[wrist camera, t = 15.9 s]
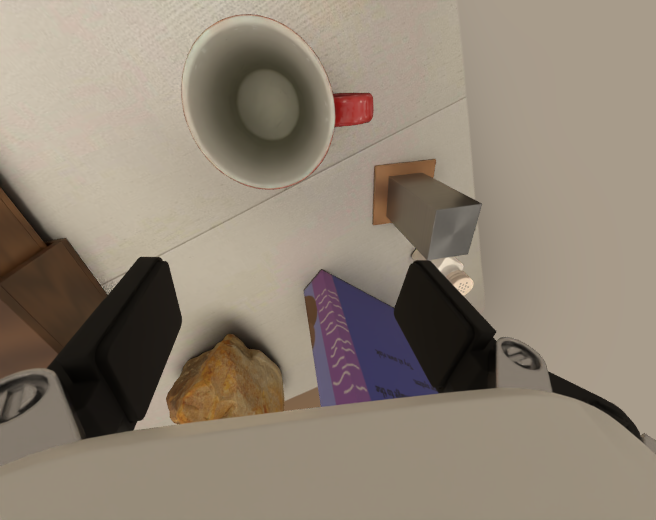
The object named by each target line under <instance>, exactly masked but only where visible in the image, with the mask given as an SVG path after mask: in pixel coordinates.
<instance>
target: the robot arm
mask: <svg viewBox="0 0 656 520" xmlns="http://www.w3.org/2000/svg"><path fill="white" fill-rule="evenodd" d="M394 317H395V319H396V321H397V323H398V325H399V326H400V328H401V330H402V332H403V334H404V336H405V338H406V340H407V341H408V343H409V345H410V347H411V349H412V351H413V353H414V354H415V356H416V358H417V360H418V362H419V364H420V366H421V367H422V369H423V371H424V373H425V375H426V377H427V379H428V380H429V382H430V384H431V386H432V387H434V388H436V390H437V392H438V393H439V394H431V395H422V396H413V397H404V398H395V399H386V400H377V401H368V402H360V403H351V404H342V405H334V406H325V407H317V408H309V409H300V410H291V411H283V412H274V413H266V414H258V415H250V416H242V417H233V418H225V419H217V420H209V421H200V422H192V423H185V424H178V425H171V426H163V427H156V428H149V429H142V430H134V428H135V425H136V423H137V421H141V420H142V419H143V418H144V417H145V415H146V412H147V410H148V407H149V405H150V402H151V400H152V397H153V395H154V392H155V390H156V387H157V385H158V382H159V380H160V377H161V375H162V372H163V370H164V367H165V365H166V362H167V360H168V357H169V355H170V352H171V350H172V347H173V345H174V342H175V340H176V337H177V335H178V332H179V330H180V327H181V324H182V316H181V312H180V308H179V304H178V300H177V296H176V292H175V288H174V284H173V280H172V276H171V272H170V268H169V265H168V263H167V262H166V261H163V260H162V259H161V258H160V257H140V258H138V259H137V261H136V262H135V263H134V264H133V266H132V267H131V268H130V269H129V270H128V272H127V273H126V274H125V275H124V277H123V278H122V279H121V280H120V281H119V283H118V284H117V285H116V286H115V287H114V289H113V290H112V291H111V292H110V294H109V295H108V296H107V297H106V298H105V299H104V300H103V301H102V302H101V303H100V304H99V306H98V307H97V308H96V309H95V310H94V312H93V313H92V314H91V315H90V316H89V318H88V319H87V320H86V321H85V322H84V324H83V325H82V326H81V327H80V329H79V330H78V331H77V332H76V333H75V335H74V336H73V337H72V338H71V339H70V341H69V342H68V343H67V344H66V345H65V347H64V348H63V349H62V350H61V351H60V353H59V354H58V355H57V356H56V357H55V359H54V360H53V361H52V362H51V364H50V365H49V366H48V367H47V368H33V369H28V370H23V371H20V372H17V373H14V374H11V375H9V376H6V377H4V378H2V379H0V520H656V440H654V439H653V438H651V437H650V436H648V435H647V434H645V433H644V434H642V435H640V433H639V431H638V429H637V427H636V426H635V424H634V423H633V422H632V421H631V420H630V418H629V417H628V416H627V415H626V414H625V413H624V412H623V411H622V410H621V409H620V408H619V407H617V406H616V405H614V404H613V403H611V402H609V401H607V400H605V399H603V398H601V397H599V396H597V395H595V394H593V393H591V392H589V391H587V390H585V389H583V388H581V387H579V386H577V385H575V384H573V383H571V382H569V381H567V380H565V379H563V378H561V377H558V376H556V375H554V374H552V373H550V372H548V370H547V366H546V363H545V361H544V359H543V358H542V357H541V356H540V354H539V353H537V352H536V351H535V350H534V349H533V348H531V347H530V346H529V345H527V344H525V343H523V342H521V341H519V340H517V339H514V338H509V337H502V338H499V339H498V340H497V341H496V340H495V339H494V338H493V336H494V335H495V333H496V331H495V329H493V328H492V326H491V325H490V324H489V323H488V322H487V321H486V320H485V319H484V318H483V317H482V316H481V314H480V313H479V312H478V311H477V310H476V309H475V308H474V307H473V306H472V305H471V304H470V303H469V302H468V301H467V299H466V298H465V297H464V296H463V295H462V294H461V293H460V292H459V291H458V290H457V289H456V288H455V287H454V286H453V284H452V283H451V282H450V281H449V280H448V279H447V278H446V277H445V276H444V275H443V274H442V273H441V272H440V271H439V269H438V268H437V267H436V266H435V265H434V264H433V263H432V262H431V261H429V260H416V261H414V263H412V264H411V265H410V266H409V269H408V272H407V275H406V277H405V280H404V283H403V286H402V289H401V291H400V294H399V297H398V300H397V303H396V305H395V308H394ZM133 430H134V431H133Z"/></svg>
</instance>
